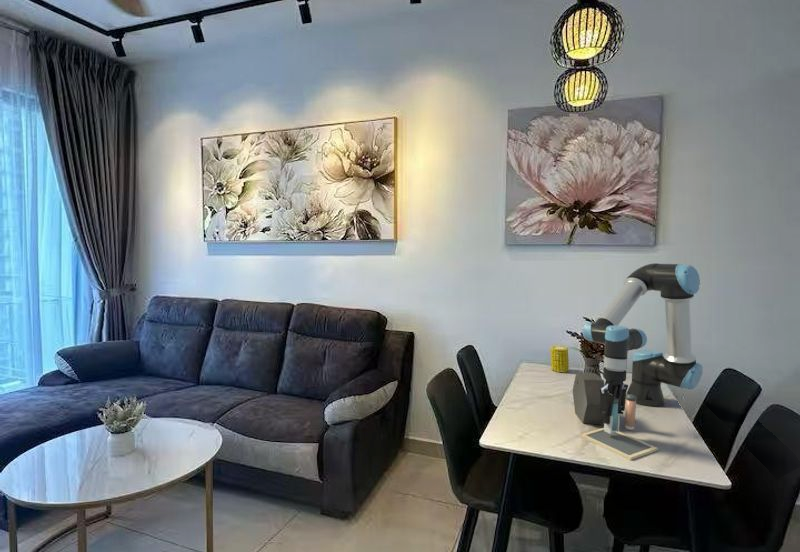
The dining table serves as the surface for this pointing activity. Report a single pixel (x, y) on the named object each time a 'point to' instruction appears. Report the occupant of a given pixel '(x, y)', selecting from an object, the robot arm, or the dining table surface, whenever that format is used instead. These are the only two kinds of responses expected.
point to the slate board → (619, 443)
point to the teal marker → (615, 415)
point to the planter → (588, 397)
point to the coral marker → (630, 411)
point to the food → (559, 358)
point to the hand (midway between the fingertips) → (611, 431)
